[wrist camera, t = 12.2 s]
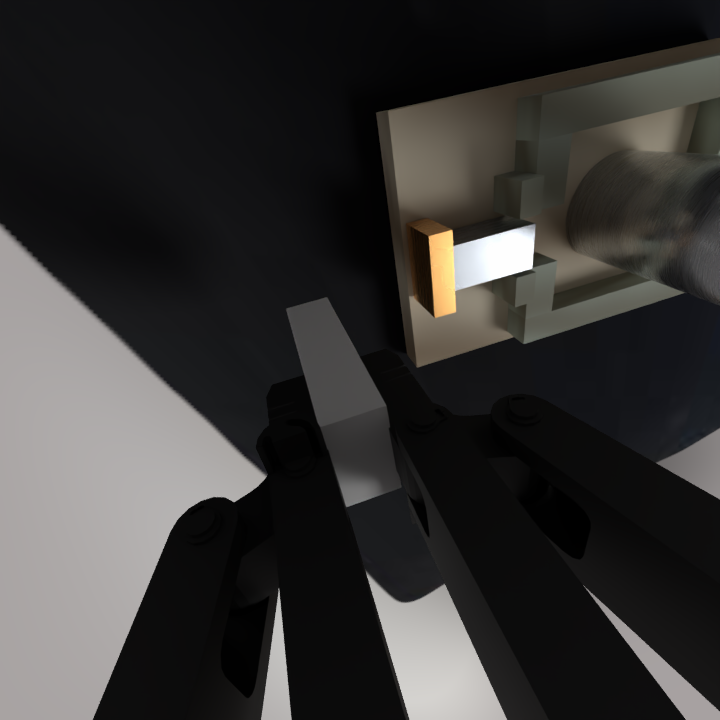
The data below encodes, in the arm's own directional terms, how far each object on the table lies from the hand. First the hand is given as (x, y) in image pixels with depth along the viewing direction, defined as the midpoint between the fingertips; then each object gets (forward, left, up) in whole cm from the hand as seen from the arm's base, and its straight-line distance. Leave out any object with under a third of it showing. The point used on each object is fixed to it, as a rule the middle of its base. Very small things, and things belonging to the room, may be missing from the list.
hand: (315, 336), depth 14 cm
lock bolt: (0, +8, -4) cm, 9 cm away
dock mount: (0, +13, -5) cm, 14 cm away
